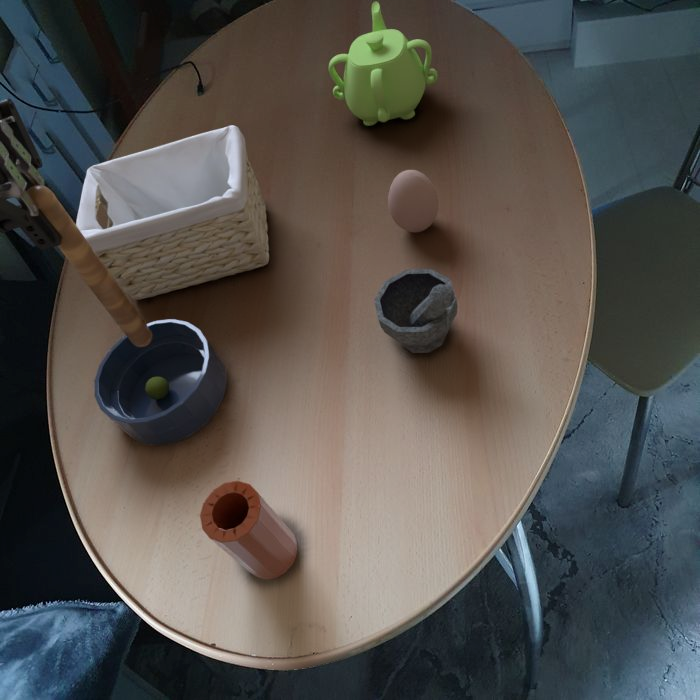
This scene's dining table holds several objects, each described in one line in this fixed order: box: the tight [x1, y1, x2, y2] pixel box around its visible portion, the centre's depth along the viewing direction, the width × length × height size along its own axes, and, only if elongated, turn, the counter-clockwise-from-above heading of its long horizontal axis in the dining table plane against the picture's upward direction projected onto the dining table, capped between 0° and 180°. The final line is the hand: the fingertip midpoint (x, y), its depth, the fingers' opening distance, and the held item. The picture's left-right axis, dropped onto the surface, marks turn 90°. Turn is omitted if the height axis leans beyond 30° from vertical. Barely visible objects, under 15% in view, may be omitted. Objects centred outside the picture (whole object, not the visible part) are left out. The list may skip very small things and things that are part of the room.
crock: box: [199, 480, 298, 580], centre depth 69 cm, size 6×6×12 cm
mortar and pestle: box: [373, 268, 458, 354], centre depth 80 cm, size 11×9×12 cm
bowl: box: [93, 318, 228, 446], centre depth 86 cm, size 15×15×6 cm
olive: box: [145, 377, 169, 400], centre depth 87 cm, size 3×3×3 cm
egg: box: [387, 169, 439, 233], centre depth 92 cm, size 7×7×10 cm
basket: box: [75, 124, 270, 301], centre depth 98 cm, size 24×16×15 cm
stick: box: [27, 185, 152, 347], centre depth 66 cm, size 2×2×22 cm
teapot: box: [328, 0, 439, 127], centre depth 109 cm, size 16×14×13 cm
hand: (53, 233), depth 61 cm, fingers closed on stick, 2 cm apart
